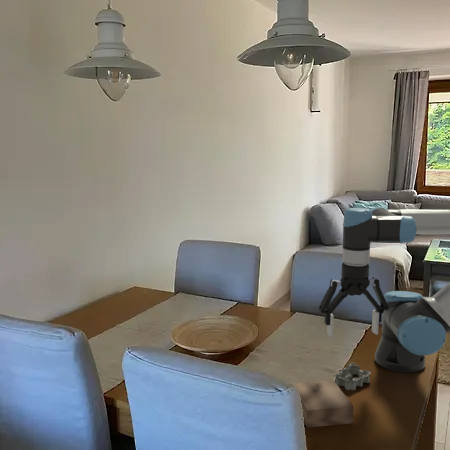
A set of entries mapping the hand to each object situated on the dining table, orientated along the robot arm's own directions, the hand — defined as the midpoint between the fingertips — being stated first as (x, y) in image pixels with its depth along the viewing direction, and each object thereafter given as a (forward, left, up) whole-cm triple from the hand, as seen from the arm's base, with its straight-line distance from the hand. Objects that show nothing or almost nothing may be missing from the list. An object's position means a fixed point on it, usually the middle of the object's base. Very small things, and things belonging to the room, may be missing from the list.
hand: (352, 334), depth 147 cm
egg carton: (0, 0, -15) cm, 15 cm away
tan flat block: (+14, +14, -15) cm, 25 cm away
